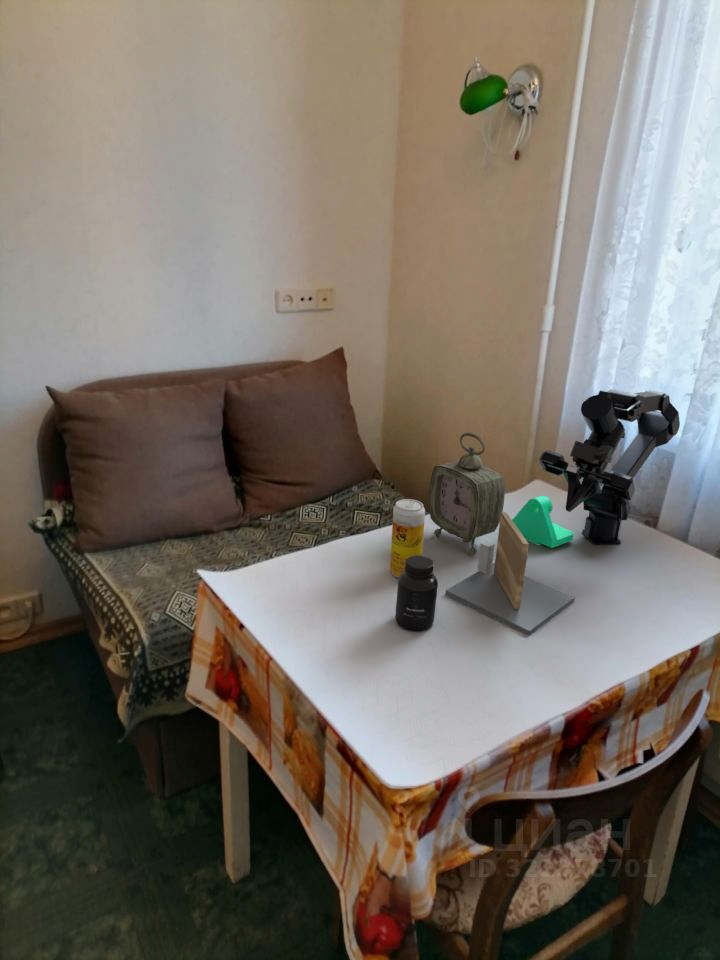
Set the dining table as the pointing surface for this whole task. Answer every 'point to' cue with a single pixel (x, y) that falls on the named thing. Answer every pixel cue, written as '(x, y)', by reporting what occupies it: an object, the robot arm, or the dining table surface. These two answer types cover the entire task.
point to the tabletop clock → (466, 496)
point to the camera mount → (540, 524)
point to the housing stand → (492, 600)
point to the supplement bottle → (416, 595)
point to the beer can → (406, 533)
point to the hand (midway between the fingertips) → (567, 510)
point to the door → (511, 559)
